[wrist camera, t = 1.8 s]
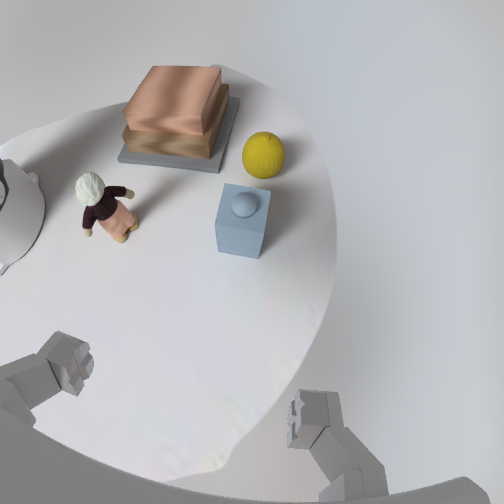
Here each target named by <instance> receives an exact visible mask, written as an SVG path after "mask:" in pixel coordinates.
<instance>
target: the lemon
mask: <svg viewBox="0 0 504 504" xmlns="http://www.w3.org/2000/svg"><path fill="white" fill-rule="evenodd" d="M284 158H285V154H284V147H283V144H282V142H281V140H280V139H279V138H278V137H277V136H276V135H274V134H272V133H269V132H259V133H256V134H254V135H252V136H251V137H250V138H249V139H248V140H247V142H246V144H245V146H244V149H243V153H242V160H243V164H244V167H245V169H246V170H247V172H248V173H249V174H250V175H252V176H253V177H256V178H259V179H267V178H270V177H273V176H274V175H275V174H277V173H278V172H279V170H280V169H281V167H282V165H283V162H284Z"/></svg>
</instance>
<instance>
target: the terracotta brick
mask: <svg viewBox="0 0 504 504" xmlns="http://www.w3.org/2000/svg"><path fill="white" fill-rule="evenodd" d="M228 104H229V85H228V84H221V68H215V67H198V66H153V67H152V68H151V70H150V71H149V72H148V74H147V75H146V77H145V78H144V80H143V81H142V83H141V84H140V86H139V87H138V89H137V90H136V92H135V93H134V95H133V96H132V98H131V99H130V101H129V103H128V104H127V106H126V107H125V109H124V111H123V112H124V115H125V117H126V120H127V123H128V125H127V126H126V128H125V130H124V132H123V134H122V136H123V139H124V141H125V143H126V146H127V148H128V150H129V152H140V153H152V154H164V155H174V156H183V157H192V158H200V159H208V160H210V158H211V155H212V152H213V149H214V146H215V142H216V139H217V136H218V133H219V130H220V127H221V124H222V121H223V118H224V115H225V112H226V109H227V107H228Z"/></svg>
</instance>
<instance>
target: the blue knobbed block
mask: <svg viewBox="0 0 504 504" xmlns="http://www.w3.org/2000/svg"><path fill="white" fill-rule="evenodd" d="M270 195H271V191H269V190H263V189H257V188H251V187H245V186H239V185H233V184H226V183H225V185H224V189H223V193H222V197H221V201H220V205H219V209H218V213H217V217H216V221H215V231H216V238H217V245H218V252H222V253H227V254H233V255H239V256H245V257H250V258H256V259H258V257H259V253H260V249H261V245H262V241H263V237H264V233H265V227H266V221H267V214H268V208H269V202H270Z"/></svg>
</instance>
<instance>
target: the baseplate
mask: <svg viewBox="0 0 504 504" xmlns="http://www.w3.org/2000/svg"><path fill="white" fill-rule="evenodd" d="M238 105H239V98H235V97H229V104H228V107H227V109H226V112H225V115H224V118H223V121H222V124H221V127H220V130H219V133H218V136H217V139H216V142H215V146H214V149H213V152H212V155H211V158H210V160H208V159H200V158H192V157H183V156H174V155H164V154H152V153H140V152H129V150H128V148H127V146H126V143H125V144H124V146H123V148H122V150H121V152H120V154H119V156H118V158H117V159H118V161H119V163H131V164H143V165H153V166H163V167H172V168H180V169H188V170H196V171H204V172H211V173H219V169H220V165H221V162H222V158H223V155H224V151H225V148H226V144H227V141H228V137H229V134H230V131H231V127H232V124H233V121H234V118H235V114H236V111H237V108H238Z"/></svg>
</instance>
